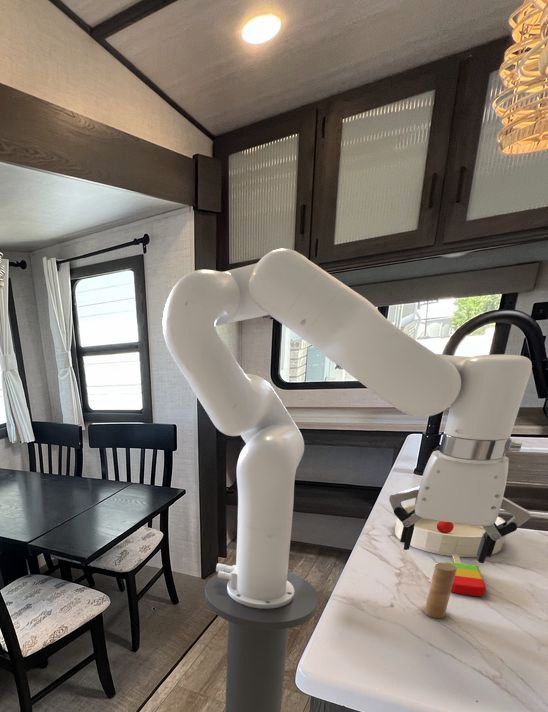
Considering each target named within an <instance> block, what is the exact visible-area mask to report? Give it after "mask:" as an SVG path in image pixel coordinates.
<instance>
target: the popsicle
mask: <svg viewBox="0 0 548 712" xmlns="http://www.w3.org/2000/svg"><path fill="white" fill-rule="evenodd" d="M452 559H453V562H451V561H450V562H449V561H443V562H442V563H449V564H452V565H454V566H456V568H457V570H456V574H455V578H454V582H453V585H452V589H451V593H454V594H459V595H460V594H461V595H466V596H473V597H482V596H484V595H485V594H486V590H487V586H486V583H485V581H484V578H483V575H482V573H481V570H480V568H479V566H478V565H473V564H468V563H467V564H466V563H462V561H461V557H459V555H458V554H453V556H452Z"/></svg>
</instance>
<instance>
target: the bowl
mask: <svg viewBox="0 0 548 712" xmlns="http://www.w3.org/2000/svg"><path fill="white" fill-rule="evenodd" d="M402 507H403V508H404V509H405V510H406V511H407V512H408V513H409V512H410V511H412V510H413V509H415V503H414V504H409V505H406V506H402ZM506 521H507V520H505V519H504V518H502V517H501V516H498V517H497V520H496V521H495V523H496V525H500V524H502V523H504V522H506ZM439 522H440V521H438V520H432V519H426V518H422V519H420V520H419V521H417V522H416V523H415V525H414V531H413V535H412V539H411V543H410V547H413V548H415V549H418V550H421V551H424V552H428V553H432V554H436V555H441V556H448V557H449V556H450V557H453V554H458V555H459V557H460V558H477V551H478V548H479V545H480V542H481V539H482V536H483V533H485V532H486V531H485V529H484V528H483V527H482V526H474V525H467V524H460V523H453V525H454V528H453V530H452V531H451V532H449V533H441V532H439V531H438V529H437V524H438V523H439ZM402 531H403V524H402V522H401V521H400V520H399V519H398V517H397V516H396V522H395V528H394V534H395V536H396V538H398V540H400V539H401V535H402ZM506 537H507V535H505V536H503V537H501V538H500V539H499V540H496V543H495V546H494V549H493V552H492V555H494V554H497V553H498V552H500V551H501V550H502V548H503V545H504V544H505V541H506Z"/></svg>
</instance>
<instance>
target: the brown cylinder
mask: <svg viewBox="0 0 548 712" xmlns="http://www.w3.org/2000/svg"><path fill="white" fill-rule="evenodd" d="M456 570H457V568H456V566H454V565H452V564H449V563H443V562H436V563H435V565H434V569H433V573H432V579H431V581H430V586H429V591H428V594H427V599H426V603H425V608H424V614H425V615H426V616H428V617H429V618H433V619H443V618H444V617H445V616H446V612H447V608H448V605H449V604H448V603H449V601H450V597H451V593H452V592H451V589H452V585H453V582H454V578H455V574H456Z"/></svg>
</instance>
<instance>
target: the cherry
mask: <svg viewBox="0 0 548 712" xmlns="http://www.w3.org/2000/svg"><path fill="white" fill-rule="evenodd" d="M453 528H454V525H453V523H452V522H445V521H440V522H439V523H438V524H437V529H438V531H439V532H441V533H449V532H451V531H452V530H453Z"/></svg>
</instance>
